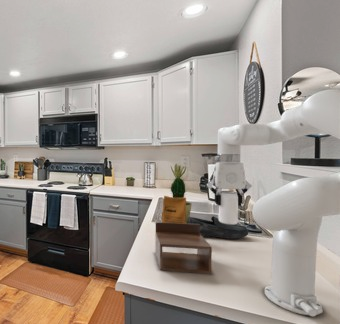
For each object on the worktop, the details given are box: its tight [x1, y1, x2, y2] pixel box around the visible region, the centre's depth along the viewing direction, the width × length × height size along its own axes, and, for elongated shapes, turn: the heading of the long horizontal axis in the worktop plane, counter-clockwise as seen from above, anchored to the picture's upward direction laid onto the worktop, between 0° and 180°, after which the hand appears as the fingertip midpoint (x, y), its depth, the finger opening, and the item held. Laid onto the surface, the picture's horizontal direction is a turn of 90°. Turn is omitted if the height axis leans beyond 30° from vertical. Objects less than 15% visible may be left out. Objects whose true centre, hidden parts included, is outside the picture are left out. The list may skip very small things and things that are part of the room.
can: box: [218, 190, 239, 225], centre depth 87 cm, size 6×6×12 cm
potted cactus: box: [170, 177, 193, 223], centre depth 131 cm, size 15×15×30 cm
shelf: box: [154, 221, 213, 275], centre depth 89 cm, size 14×18×14 cm
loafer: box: [187, 215, 249, 240], centre depth 117 cm, size 10×29×10 cm, turn 81°
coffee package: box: [161, 195, 187, 223], centre depth 113 cm, size 10×12×22 cm
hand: (228, 204), depth 87 cm, fingers closed on can, 6 cm apart
